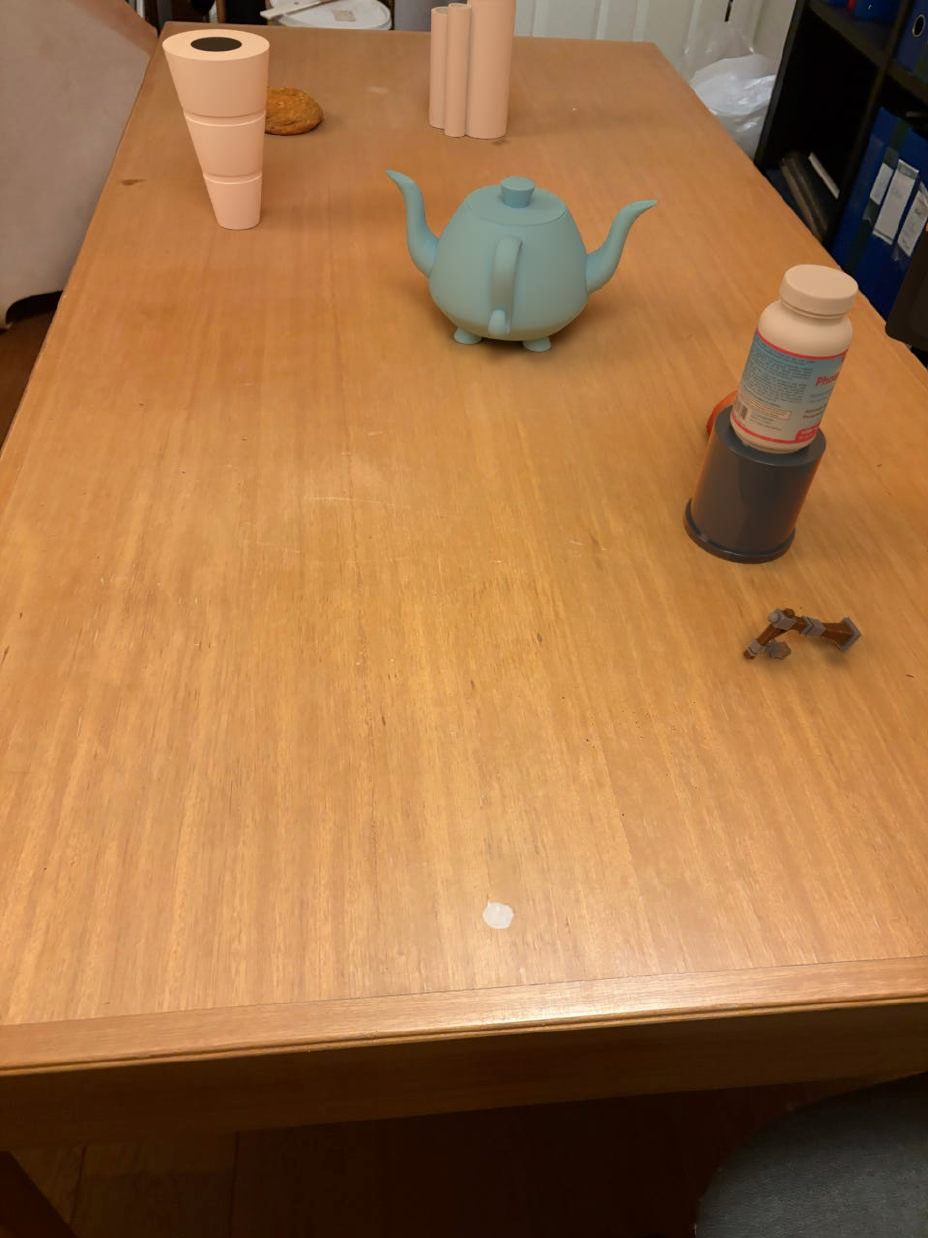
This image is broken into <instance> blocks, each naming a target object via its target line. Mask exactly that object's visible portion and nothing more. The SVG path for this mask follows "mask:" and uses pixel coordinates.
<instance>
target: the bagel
mask: <svg viewBox="0 0 928 1238" xmlns="http://www.w3.org/2000/svg"><path fill="white" fill-rule="evenodd" d="M265 111H266V115H265V132H264V133H270V134H274V135H283V136H285V135H286V136H287V135H289V136H290V135H297V134H301V133H306V132H309V131H310V130H312V129H313V128H315V127H316V126H317V124H319V123H320V122H321V121H322V120H323V118H324V112H323V108H322V107H321V105H320V104H319V102H318V100H316V99H315V98H313V97H312V96H311V95H309V94H308V93H307V92H304V91H302V90H300V89H297V88H295V87H287V86H280V87H276V88H274V87H269V86H267V100H266V105H265Z"/></svg>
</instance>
